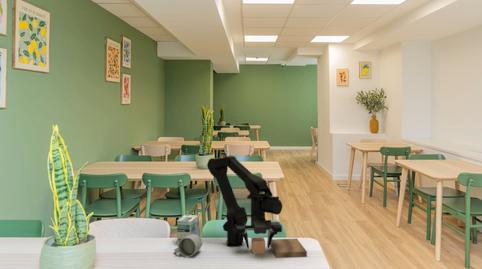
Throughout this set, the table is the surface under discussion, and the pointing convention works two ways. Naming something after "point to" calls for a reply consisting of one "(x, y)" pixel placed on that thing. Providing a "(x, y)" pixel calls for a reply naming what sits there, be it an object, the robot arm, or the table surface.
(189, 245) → the ceramic mug
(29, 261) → the table surface
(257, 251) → the terracotta cube
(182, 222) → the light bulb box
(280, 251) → the walnut board
